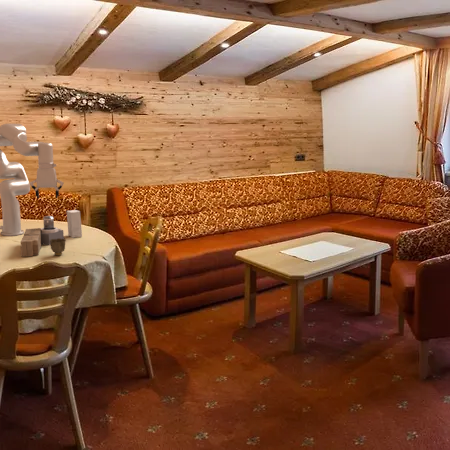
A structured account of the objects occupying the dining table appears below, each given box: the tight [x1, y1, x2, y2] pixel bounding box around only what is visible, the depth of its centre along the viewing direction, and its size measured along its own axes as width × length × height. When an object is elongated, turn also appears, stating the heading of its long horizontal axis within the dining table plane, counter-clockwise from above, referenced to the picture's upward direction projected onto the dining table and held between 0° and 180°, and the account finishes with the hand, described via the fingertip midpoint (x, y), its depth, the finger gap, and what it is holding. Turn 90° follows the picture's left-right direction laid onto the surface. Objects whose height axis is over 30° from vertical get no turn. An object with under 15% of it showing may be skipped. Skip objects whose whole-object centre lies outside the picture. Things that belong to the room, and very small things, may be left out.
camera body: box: [41, 226, 64, 246], centre depth 276 cm, size 9×12×8 cm
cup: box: [49, 238, 66, 257], centre depth 249 cm, size 8×7×8 cm
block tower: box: [20, 227, 42, 257], centre depth 259 cm, size 8×8×29 cm
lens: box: [43, 215, 55, 230], centre depth 274 cm, size 6×5×8 cm
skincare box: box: [66, 209, 83, 239], centre depth 291 cm, size 8×6×15 cm
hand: (47, 197), depth 273 cm, fingers open, 9 cm apart
